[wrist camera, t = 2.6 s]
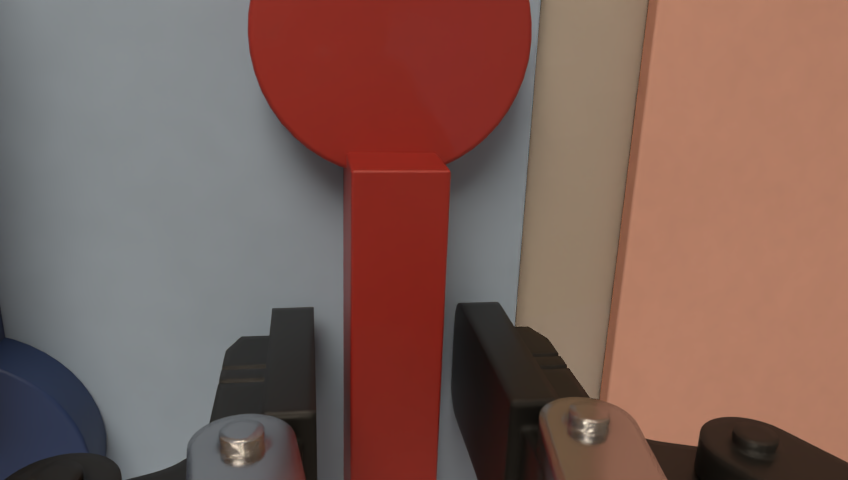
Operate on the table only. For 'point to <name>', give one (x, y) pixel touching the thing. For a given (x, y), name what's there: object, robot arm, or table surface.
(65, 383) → the blue spoon
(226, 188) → the blue mat
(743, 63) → the red mat
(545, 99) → the table surface
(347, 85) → the red spoon
